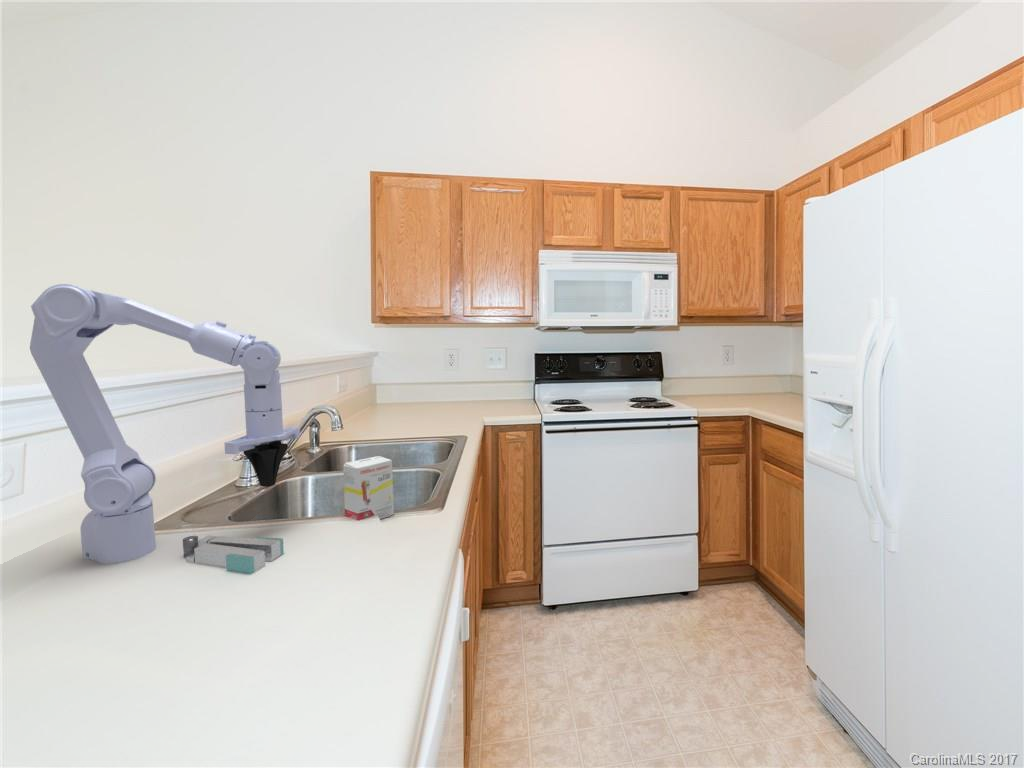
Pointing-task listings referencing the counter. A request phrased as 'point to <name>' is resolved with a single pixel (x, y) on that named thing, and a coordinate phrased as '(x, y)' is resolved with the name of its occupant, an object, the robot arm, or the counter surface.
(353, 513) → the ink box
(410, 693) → the counter surface
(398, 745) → the counter surface
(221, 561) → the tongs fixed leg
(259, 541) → the bar
